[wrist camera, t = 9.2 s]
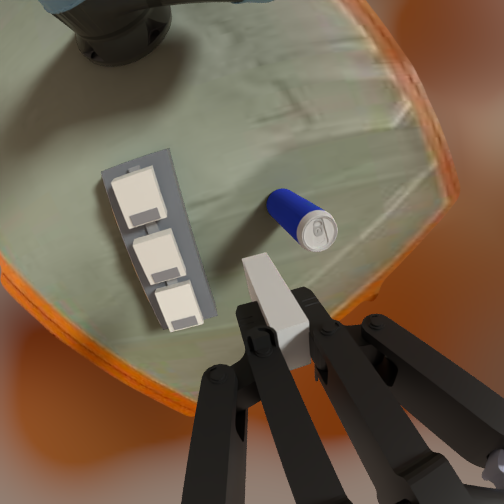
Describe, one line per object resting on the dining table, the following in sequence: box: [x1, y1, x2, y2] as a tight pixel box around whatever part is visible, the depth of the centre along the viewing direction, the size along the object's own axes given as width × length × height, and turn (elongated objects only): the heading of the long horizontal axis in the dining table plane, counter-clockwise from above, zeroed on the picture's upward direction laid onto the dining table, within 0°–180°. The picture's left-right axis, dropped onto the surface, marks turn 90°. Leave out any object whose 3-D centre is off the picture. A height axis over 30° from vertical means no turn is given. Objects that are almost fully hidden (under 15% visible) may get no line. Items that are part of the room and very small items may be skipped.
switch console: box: [101, 148, 218, 330], centre depth 40 cm, size 28×10×5 cm, turn 12°
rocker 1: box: [111, 165, 167, 229], centre depth 33 cm, size 7×6×2 cm
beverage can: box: [267, 189, 338, 252], centre depth 38 cm, size 5×5×15 cm
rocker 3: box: [155, 280, 203, 332], centre depth 41 cm, size 7×6×2 cm
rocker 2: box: [133, 228, 186, 285], centre depth 37 cm, size 7×6×2 cm
